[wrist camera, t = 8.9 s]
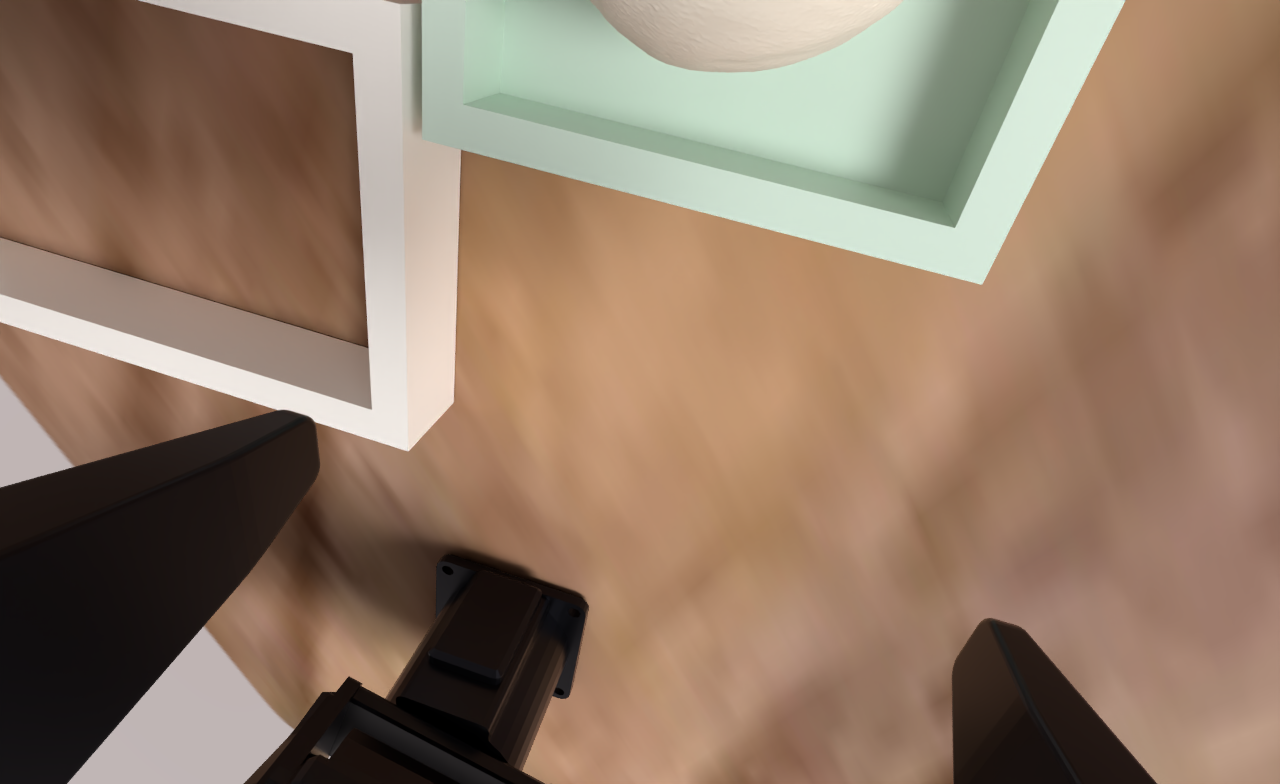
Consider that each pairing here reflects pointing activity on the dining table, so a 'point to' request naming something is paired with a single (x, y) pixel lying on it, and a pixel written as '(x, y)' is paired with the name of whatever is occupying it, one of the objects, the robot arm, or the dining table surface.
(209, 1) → the shallow gray planter box
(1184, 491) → the dining table surface
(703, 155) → the tray
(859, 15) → the steamed bun
